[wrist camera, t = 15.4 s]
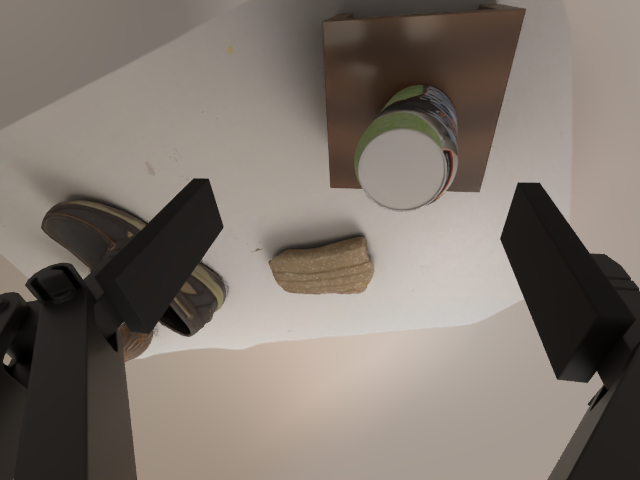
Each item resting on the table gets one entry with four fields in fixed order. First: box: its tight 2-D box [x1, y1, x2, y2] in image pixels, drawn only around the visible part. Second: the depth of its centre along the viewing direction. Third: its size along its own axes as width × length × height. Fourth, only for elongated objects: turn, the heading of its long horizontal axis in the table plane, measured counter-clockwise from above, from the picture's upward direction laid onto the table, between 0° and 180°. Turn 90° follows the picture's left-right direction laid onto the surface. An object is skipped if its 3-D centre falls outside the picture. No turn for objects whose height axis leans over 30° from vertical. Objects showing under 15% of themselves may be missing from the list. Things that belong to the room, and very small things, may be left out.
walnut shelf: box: [322, 4, 526, 192], centre depth 31 cm, size 14×14×8 cm
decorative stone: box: [269, 237, 374, 294], centre depth 49 cm, size 10×16×4 cm, turn 109°
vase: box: [118, 323, 153, 362], centre depth 67 cm, size 7×7×9 cm
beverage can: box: [354, 85, 458, 212], centre depth 23 cm, size 6×7×12 cm
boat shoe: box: [41, 200, 226, 337], centre depth 51 cm, size 11×29×11 cm, turn 57°
